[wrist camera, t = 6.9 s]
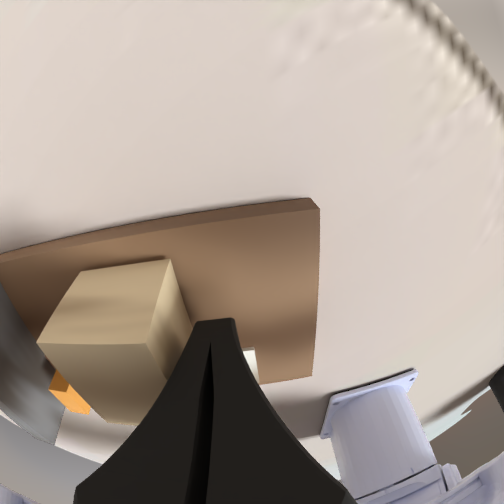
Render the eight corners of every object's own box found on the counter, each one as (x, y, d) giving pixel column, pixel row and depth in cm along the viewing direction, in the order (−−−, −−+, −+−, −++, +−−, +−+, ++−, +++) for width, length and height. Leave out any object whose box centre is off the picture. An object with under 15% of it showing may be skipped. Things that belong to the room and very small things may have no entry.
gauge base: (307, 360, 15) (332, 451, 10) (58, 371, 15) (35, 438, 9) (310, 198, 10) (390, 297, 5) (-13, 257, 10) (-70, 324, 5)
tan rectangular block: (212, 380, 13) (213, 447, 10) (143, 383, 13) (133, 444, 10) (170, 258, 9) (145, 343, 6) (80, 271, 9) (36, 342, 6)
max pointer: (95, 388, 13) (88, 414, 11) (78, 386, 13) (70, 411, 11) (76, 365, 12) (66, 392, 10) (59, 363, 12) (48, 389, 10)
